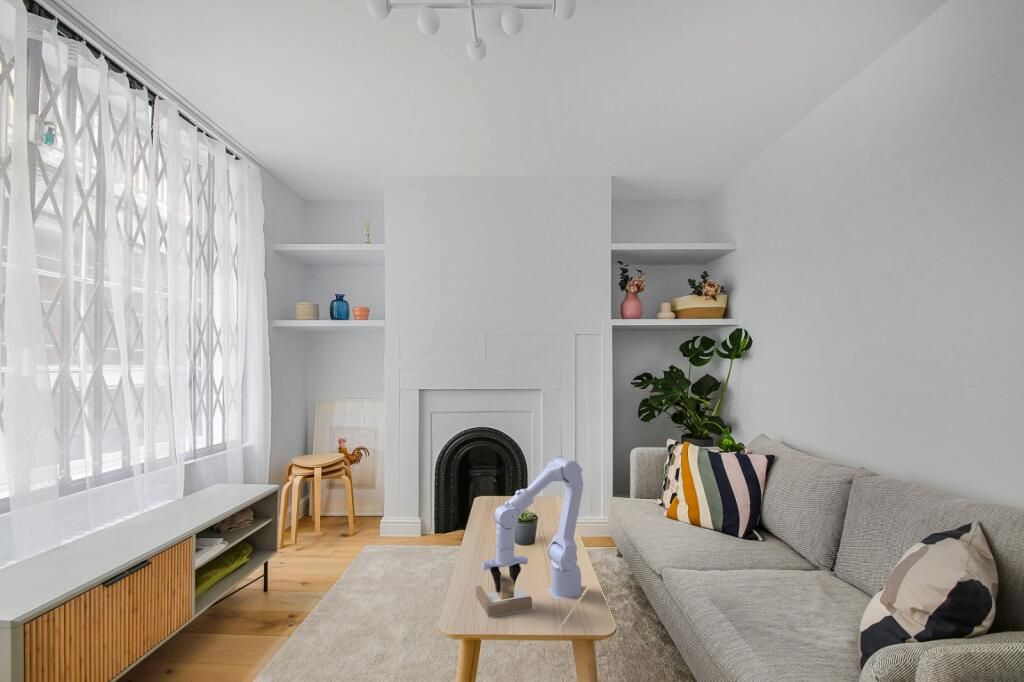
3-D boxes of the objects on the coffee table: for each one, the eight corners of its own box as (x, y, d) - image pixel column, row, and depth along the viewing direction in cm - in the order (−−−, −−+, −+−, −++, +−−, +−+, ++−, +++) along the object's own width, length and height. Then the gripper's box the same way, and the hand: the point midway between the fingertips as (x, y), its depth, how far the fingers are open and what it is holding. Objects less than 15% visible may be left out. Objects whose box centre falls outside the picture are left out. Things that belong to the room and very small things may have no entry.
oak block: (507, 589, 157) (507, 573, 158) (513, 597, 152) (514, 581, 152) (495, 591, 156) (495, 574, 156) (501, 599, 150) (501, 583, 151)
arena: (520, 589, 165) (520, 578, 165) (537, 609, 151) (537, 598, 151) (475, 596, 159) (475, 585, 159) (488, 618, 146) (488, 606, 146)
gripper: (522, 538, 160) (521, 580, 160) (479, 543, 156) (478, 587, 155) (530, 546, 154) (529, 590, 153) (485, 552, 149) (485, 597, 148)
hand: (504, 589), depth 154 cm, fingers closed on oak block, 4 cm apart
